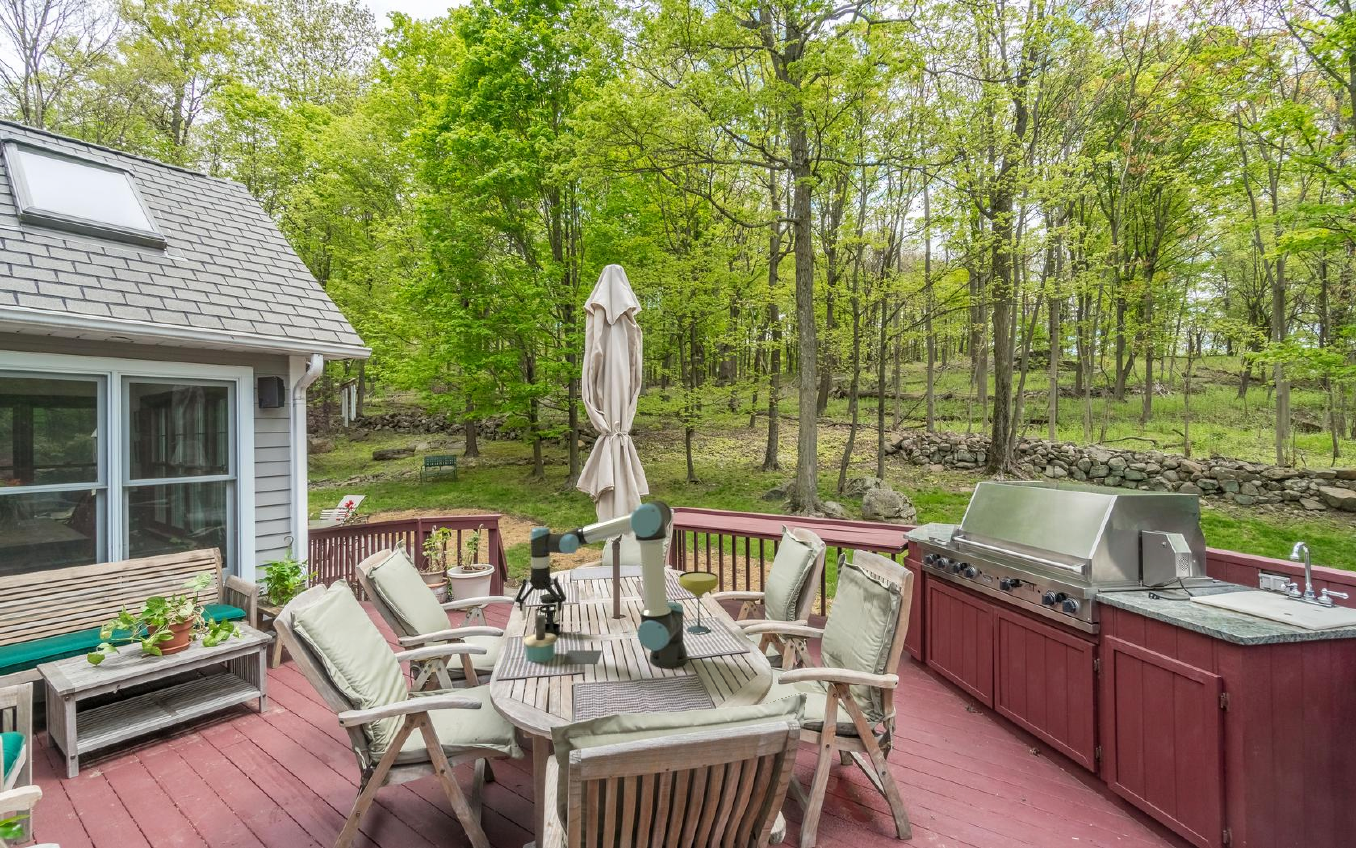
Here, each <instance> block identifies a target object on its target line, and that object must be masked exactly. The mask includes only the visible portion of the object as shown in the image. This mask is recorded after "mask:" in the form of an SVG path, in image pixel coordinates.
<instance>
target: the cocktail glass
mask: <svg viewBox="0 0 1356 848" xmlns="http://www.w3.org/2000/svg"><path fill="white" fill-rule="evenodd" d="M678 583H679V586H680V587H682V588H683V589H684V590H686V591H688V592H689V593H692V594H693V595H694V596H695V597H696V599H697V624H696V625H693V626H689V627H688V628H687V629H686V631H687V632H688V633H689V632H691V633H690V634H692V632H693V633H700V632H709V629H708V628H709V627H708V626H705V625H701V621H700V619H701V617H700V599H701V598H702V597H703V595H705V594H706V593H709V592H710V591H713V590H714V589H715V588H716V587H718V585H719V576H718V574H716V573H713V572H709V571H704V570H703V571H700V570H697V571H695V570H694V571H686V572H682V573H681V574H680V575H679V578H678ZM709 633H710V632H709Z"/></svg>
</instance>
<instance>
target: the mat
mask: <svg viewBox="0 0 1356 848" xmlns="http://www.w3.org/2000/svg"><path fill="white" fill-rule="evenodd" d="M601 654H602V650H601V649H600V650H599V649H598V650H594V649H593V650H592V649H591V650H590V649H589V650H586V649H583V650H579V649H578V650H577V649H576V650H573V649H572V650H571V649H569V650H567V652H566V655H565V657H564V658H563V660H562V662H561V665H598V662H599V661H600V657H601Z"/></svg>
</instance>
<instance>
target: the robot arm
mask: <svg viewBox="0 0 1356 848" xmlns="http://www.w3.org/2000/svg"><path fill="white" fill-rule="evenodd" d="M672 519H673V513H672V508H671V507H670V506H669V505H668V504H667V503H666V502H665V501H662V500H657V499H656V500H653V501H649V502H646V503H642V504H640V505H639V506H637V507H636V508H635V509H634V510H633V511H632V512H628V513H624V514H621V515H617V516H615V517H612V518H608V519H603V520H601V521H598V522H594V523H591V524H588V525H584V526H580V527H577V528H574V529H571V530H569V531H566V532H564V533H563V532H562V533H551V531H550V528H549V527H545V526H544V527H543V526H542V527H541V526H539V527H535V528H532V529H531V531H530V567H531V568H530V578H528V577H524V578H523V580H522V585H521V587H520V589H519V590H518V591H519V592H518V593H517V595H516V597H515V600H514V602H515V603H519V611H520V612H521V614H522V615H521V616H522V617H521V620H522V621H525V620H526V619H527V601H526V599H527V598H528V597H529V595H530V594H532V592H533V591H534V590H536V591H544V590H546V591H547V592H548V594H551V595H552V596H553V597H554V599H555V600H556V601H557V602H556V603H555V605H556V607H555V609H556V612H555V617H556V620H558V619H559V611H560V612H561V611H562V608H563V602H564V603H565V601H566V600H567V597H566V595H565V592H564V591H563V589H562V587H561V585H560V583H559V578H558V577H555V578H551V566H550V565H551V553H553V554H554V553H555V554H564V555H568V554H570V555H571V554H575V553H576V552H577V550H578V548H579V547H583V546H586V545H590V544H592V543H596V542H600V541H604V540H607V539H611V538H614V537H618V536H621V535H625V534H629V533H632V532H633V533H634V534H635V541H636V542H637V543H638V544H639V547H640V549H639V550H640V560H641V561H640V562H641V564H640V565H641V577H642V578H641V579H642V594H643V595H642V596H643V608H642V609H641V611H640V625H639V627H638V629H637V639H638V641H639V642H640V644H641V645H642V646H643V647H644V648H645V649H647V650H650V653H649V654H650V655H649V662H650V664H651V665H652V666H654V667H657V666H658V667H657V668H663V669H674V668H679V667H682V666H685V665H686V664H687V663H688V661H689V660H688V659H689V658H688V656H689V655H688V651H687V650H686V646H685V643H684V613H685V612H684V606H683V604H681V603H679V602H676V601H668V600H667V590H666V576H665V560H664V559H665V557H664V546H663V545H664V543H663V542H664V541H665V540H666V539H667V530H666V529H667V527H668V526H669V525H670V523H671V522H672ZM550 582H552V583H553V584H554V585H553V586H554V587H555V589H556V590H555V589H553V587H552V585H551V586H550ZM528 584H530V585H531V587H530V588H529V590H527V592H526V593H525V594H524V596H523V597H522V595H523V593H524V591H525V589H526V587H527V585H528ZM556 591H557V592H556ZM558 595H560V597H559V596H558Z"/></svg>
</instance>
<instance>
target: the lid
mask: <svg viewBox="0 0 1356 848" xmlns="http://www.w3.org/2000/svg"><path fill="white" fill-rule="evenodd" d="M545 617H546V615H545V614H541V615H540V614H537V616H536V628H535V633H534V634H530V635H527V636H525V637H524V638H523V644H524V645H525V646H526V645H527V646H530V647H544V646H549V645H552V644H554V643H555V644H556V642H557V641H558V637H557V636H556V635H554V634H551V633H545Z"/></svg>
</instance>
